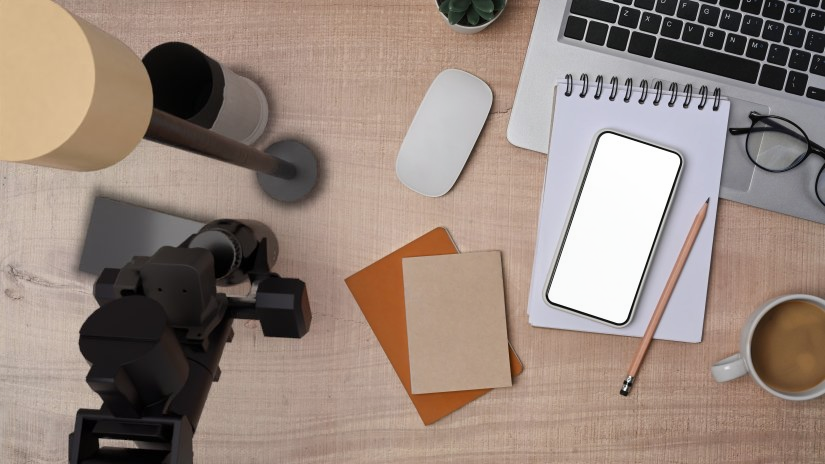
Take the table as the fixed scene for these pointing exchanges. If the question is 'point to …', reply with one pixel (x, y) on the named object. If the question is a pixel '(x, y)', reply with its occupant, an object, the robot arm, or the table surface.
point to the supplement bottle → (234, 247)
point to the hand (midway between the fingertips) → (231, 238)
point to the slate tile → (129, 234)
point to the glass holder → (205, 92)
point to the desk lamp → (107, 105)
